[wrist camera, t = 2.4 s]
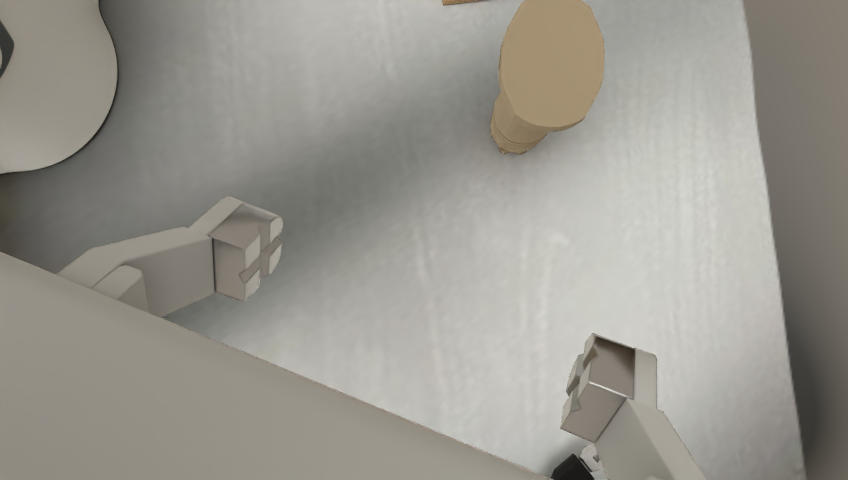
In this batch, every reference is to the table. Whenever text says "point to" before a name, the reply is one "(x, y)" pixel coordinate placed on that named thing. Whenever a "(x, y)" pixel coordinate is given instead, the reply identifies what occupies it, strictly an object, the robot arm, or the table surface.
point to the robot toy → (579, 466)
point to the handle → (546, 72)
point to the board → (457, 1)
